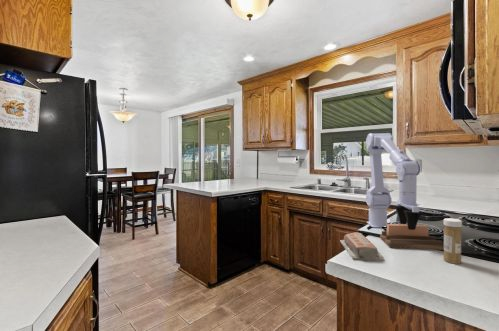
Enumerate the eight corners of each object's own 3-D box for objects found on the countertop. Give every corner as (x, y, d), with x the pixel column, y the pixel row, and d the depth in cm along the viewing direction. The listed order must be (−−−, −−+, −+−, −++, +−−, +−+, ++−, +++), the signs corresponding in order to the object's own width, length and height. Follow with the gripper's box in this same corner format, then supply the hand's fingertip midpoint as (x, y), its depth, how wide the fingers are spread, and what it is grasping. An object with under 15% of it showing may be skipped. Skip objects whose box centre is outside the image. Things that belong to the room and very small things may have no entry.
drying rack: (380, 238, 104) (380, 230, 104) (428, 239, 101) (428, 232, 101) (389, 247, 94) (389, 239, 94) (444, 250, 90) (444, 241, 90)
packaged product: (384, 247, 82) (352, 246, 84) (384, 262, 83) (352, 261, 84) (365, 230, 100) (339, 230, 101) (365, 243, 101) (339, 242, 102)
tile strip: (386, 236, 102) (386, 223, 102) (425, 237, 100) (425, 224, 99) (388, 238, 100) (388, 225, 100) (428, 239, 97) (428, 226, 97)
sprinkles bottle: (464, 265, 78) (464, 221, 78) (446, 263, 80) (446, 220, 79) (457, 259, 83) (458, 218, 82) (440, 257, 84) (441, 217, 84)
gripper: (389, 189, 107) (389, 221, 107) (404, 194, 93) (403, 231, 93) (408, 189, 106) (407, 221, 106) (425, 195, 91) (425, 232, 92)
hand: (407, 226), depth 100 cm, fingers open, 7 cm apart
